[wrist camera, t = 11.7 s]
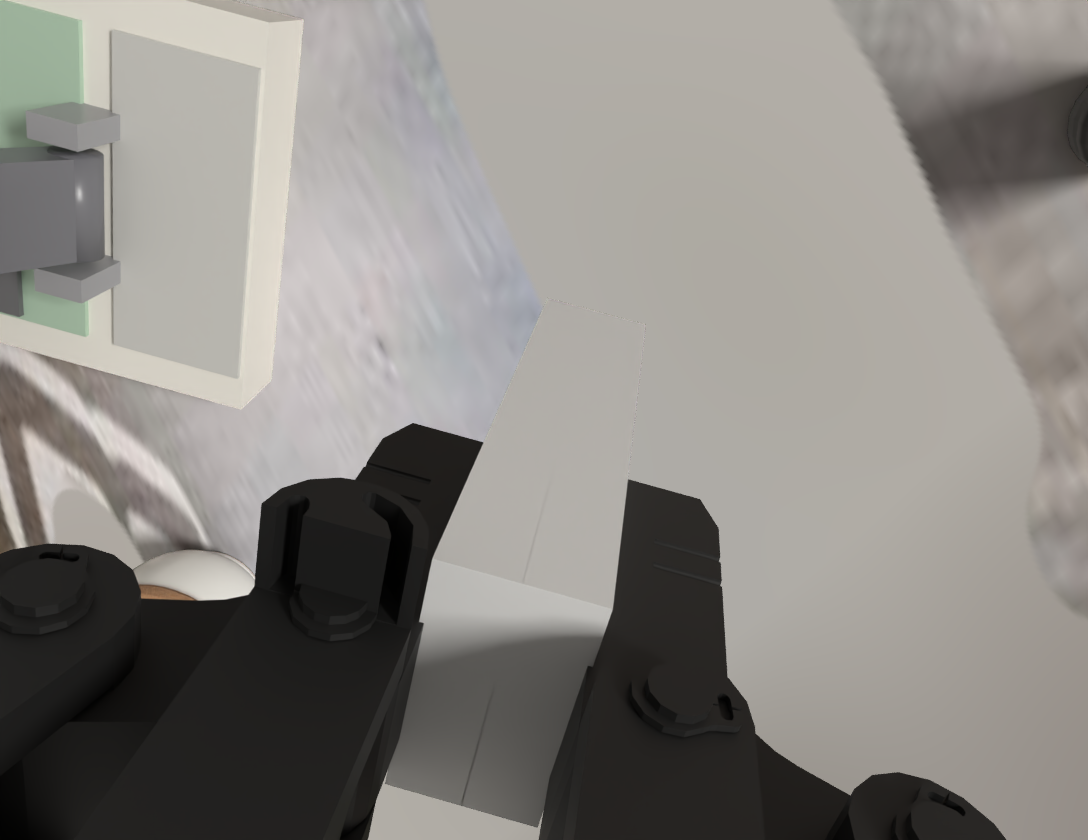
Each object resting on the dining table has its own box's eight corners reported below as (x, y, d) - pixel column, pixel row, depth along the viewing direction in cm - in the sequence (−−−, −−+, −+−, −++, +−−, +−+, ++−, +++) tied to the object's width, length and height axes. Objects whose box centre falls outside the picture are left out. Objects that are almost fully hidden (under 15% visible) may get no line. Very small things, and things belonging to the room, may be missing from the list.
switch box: (304, 19, 42) (231, 26, 36) (271, 380, 52) (209, 439, 45) (-9, -64, 43) (-138, -73, 36) (15, 309, 52) (-84, 357, 45)
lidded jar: (312, 647, 61) (253, 752, 52) (175, 650, 63) (97, 751, 55) (269, 517, 56) (197, 609, 48) (123, 525, 58) (29, 614, 50)
